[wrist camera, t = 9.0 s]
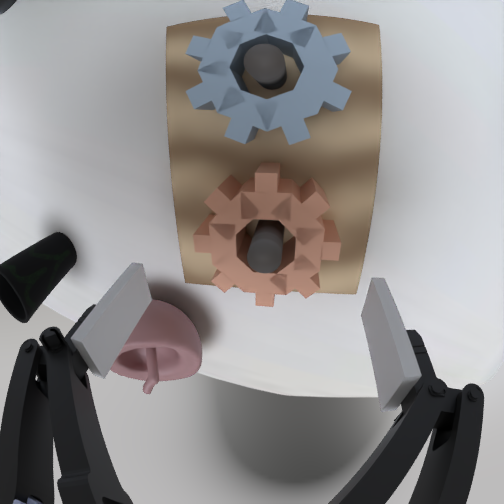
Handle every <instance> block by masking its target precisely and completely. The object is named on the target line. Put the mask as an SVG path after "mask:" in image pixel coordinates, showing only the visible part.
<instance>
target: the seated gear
mask: <svg viewBox="0 0 504 504" xmlns="http://www.w3.org/2000/svg"><path fill="white" fill-rule="evenodd" d="M308 8H309V6H308V5H305V4H302V3H299V2H296V1H293V0H286V1H285V3H284V5H283V7H282V9H281V11H280V12H277V11H273V10H270V9H266V8H265V9H262V10H259V11H256V12H253V13H251V12H250V10H249V8H248V7H247V5H246V3H245V2H244V0H242V1H239V2H236V3H234V4H231V5H229V6H227V7H224V8H223V9H224V11H225V13H226V15H227V16H228V18H229V20H230V22H228V23H226V24H223V25H221V26H219V27H217V28H216V30H215V32H214V34H213V36H212V38H211V39H208V38H203V37H199V36H193V38H192V40H191V42H190V44H189V46H188V49H187V51H186V53H185V54H187V55H189V56H191V57H193V58H195V59H196V60H198V61H200V62H201V63H200V65H199V68H198V70H197V71H198V73H199V75H200V77H201V79H202V81H203V82H202V83H200V84H198V85H196V86H194V87H192V88H191V89H189V90H187V91H186V93H187V95H188V97H189V99H190V102H191V104H192V106H193V108H194V109H199V110H214V109H216V111H217V113H219V114H222V115H225V116H227V117H230V118H231V120H230V123H229V125H228V128H227V130H226V133H225V135H224V136H225V137H227V138H230V139H233V140H235V141H238V142H240V143H243V144H247V143H248V142H250V141H252V140H254V139H255V136H256V134H257V132H258V129H262V130H264V131H270V130H272V129H275V128H278V127H282V129H283V131H284V134H285V136H286V139H287V141H288V143H289V145H291V144H294V143H297V142H300V141H303V140H306V139H309V138H311V137H310V134H309V132H308V129H307V127H306V124H305V122H304V119H303V118H306V117H309V116H313V115H316V114H318V112H319V110H320V108H321V106H322V107H324V108H326V109H328V110H330V111H332V112H335V111H342V110H343V109H344V107H345V105H346V103H347V100H348V98H349V96H350V94H351V92H352V91H350V90H348V89H346V88H344V87H342V86H341V85H339V84H336V83H334V82H333V80H334V78H335V76H336V73H337V71H338V68H337V65H338V64H340V63H341V62H342V61H343V60H344V59H345V58H346V57H347V56H348V55H349V53H350V52H351V51H350V49H349V47H348V45H347V43H346V41H345V39H344V37H343V35H342V33H338V34H334V35H330V36H325V37H322V35H321V33H320V31H319V30H318V28H317V26H316V25H314V24H312V23H309V22H307V15H308ZM258 44H271V45H274V46H276V47H277V48H279V49H280V50H281V52H282V53H283V54H284V55H287V56H290V57H292V58H293V59H294V61H295V63H296V65H297V67H298V69H299V71H300V74H301V75H300V77H299V79H298V81H297V84H296V86H295V88H294V90H292V91H289V92H286V93H283V94H280V95H278V96H275V97H272V98H270V99H264V98H261V97H259V96H256V95H253V94H251V93H249V91H248V89H247V87H246V84H245V82H244V80H243V78H242V75H243V73H244V70H245V67H244V56H245V54H246V52H247V51H248V50H249V49H250V48H251V47H253V46H255V45H258Z"/></svg>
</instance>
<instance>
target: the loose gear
mask: <svg viewBox="0 0 504 504" xmlns="http://www.w3.org/2000/svg"><path fill="white" fill-rule="evenodd" d="M204 203H205V204H206V205H207V206H208V207H209V208H210V209H212V210H213V211H214V212H215V213H216V214H215V215H214V214H209V215H208V217H207V218H206V219H205V220H204V222H203V223H202V224H201V225H200V227H199V228H198V229H197V230H196V232H195V233H194V234H193V241H194V249H195V252H199V253H211V256H212V265H214V266H215V267H216V268H217V270H216V272H215V274H214V276H213V278H212V280H211V282H212V283H214V284H215V285H216V286H217V287H218V288H219V289H221V290H222V291H223V292H224V293H225V292H226V291H227V290H228V289H230V288H231V287H232V286H233V285H236V286H237V287H239V288H240V289H241V290H242V291H243V292H251V293H256V306H269V307H273V305H274V297H275V294H280V295H287V294H288V293H289V292H291V291H292V290H294V289H296V290H297V291H298V292H300V293H301V294H302V295H303V296H304V297H305V298H307V297H309V296H310V295H312V294H313V293H315V292H316V291H318V290H319V289H320V282H319V274H318V272H319V271H320V265H321V260H334V261H339V255H340V248H341V240H340V237H339V235H338V232H337V229H336V226H335V223H334V220H323V219H322V216H321V215H322V214H323V213H324V212H325V211H327V210H328V209H329V208H330V205H329V202H328V200H327V197H326V195H325V192H324V190H323V189H322V188H321V187H320V186H319V184H318V183H317V182H316V181H315V180H314V179H313V178H310V179H309V180H308V181H307V182H306V183H305V184H304V185H302V186H301V187H299V186H298V185H297V184H296V183H295V182H294V181H293V180H292V179H281V178H280V163H274V162H262V163H261V164H260V166H259V167H258V169H257V170H256V172H255V178H249V179H248V180H247V181H246V182H245V183H244V184H243V185H241V184H240V183H239V182H238V181H237V180H236V179H235V178H234V177H233V176H232V175H230V176H229V177H228V178H227V179H226V180H225V181H224V182H223V183H222V184H221V185H220V186H219V187H218V188H217V189H216V190H215V191H214V192H213V193H212V194H211V195H210V196H209V197H208V198H207V199H206V200H205V201H204ZM253 219H260V220H279V221H280V222H281V223H282V224H283V225H284V226H285V227H286V228H287V229H288V230H289V231H290V232H291V233H292V234H293V235H294V236H293V237H292V238H291V239H289V240H288V241H287V242H286V243H284V244H283V249H282V260H281V264H280V266H279V267H278V269H276V270H275V271H273V272H271V273H259V272H257V271H255V270H253V269H252V268H251V267H250V266H249V264H248V261H247V253H248V250H249V247H250V244H251V241H252V238H251V237H250V236H249V235H248V234H247V233H246V225H247V224H248V223H249V222H250V221H251V220H253Z"/></svg>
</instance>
